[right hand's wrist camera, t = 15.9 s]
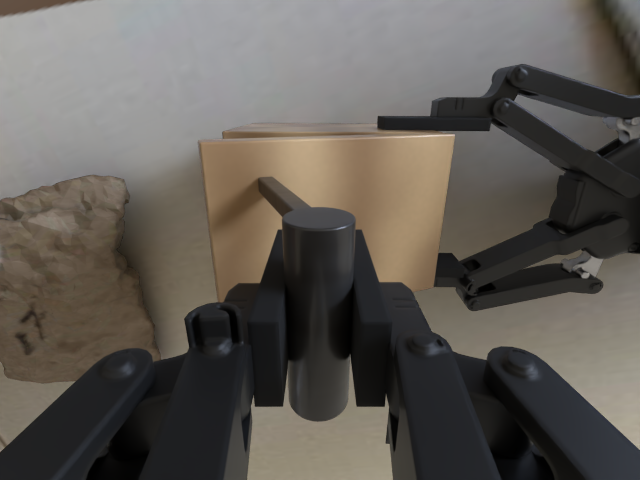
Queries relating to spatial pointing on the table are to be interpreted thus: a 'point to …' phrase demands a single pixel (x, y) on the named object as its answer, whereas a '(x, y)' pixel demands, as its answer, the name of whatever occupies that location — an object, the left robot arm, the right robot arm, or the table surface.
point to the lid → (324, 233)
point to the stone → (67, 281)
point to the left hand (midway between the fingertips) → (375, 199)
